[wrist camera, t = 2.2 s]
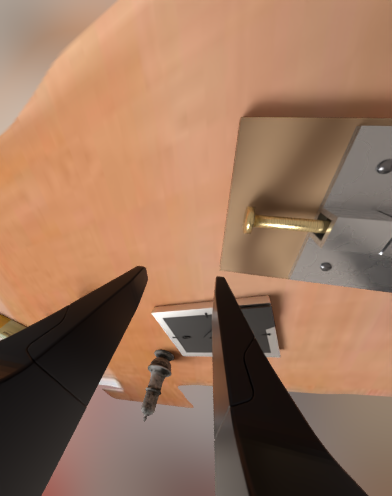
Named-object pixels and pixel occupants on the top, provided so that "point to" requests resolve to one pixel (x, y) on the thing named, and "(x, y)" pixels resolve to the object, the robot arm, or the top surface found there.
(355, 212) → the hinge leaves
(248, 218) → the hinge pin
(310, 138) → the wooden base board
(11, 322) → the medication box
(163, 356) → the grey tall carved piece
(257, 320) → the picture frame
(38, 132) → the top surface
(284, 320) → the top surface
